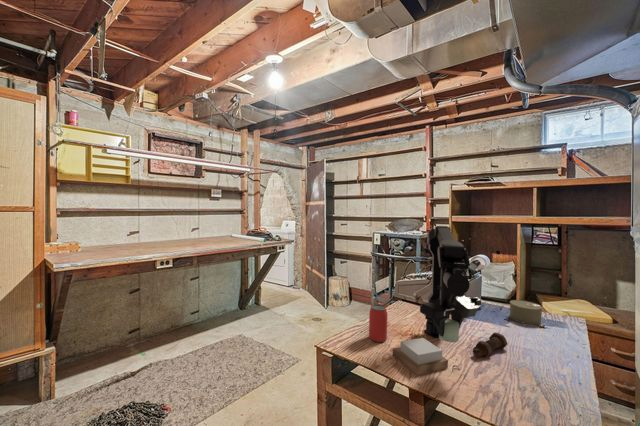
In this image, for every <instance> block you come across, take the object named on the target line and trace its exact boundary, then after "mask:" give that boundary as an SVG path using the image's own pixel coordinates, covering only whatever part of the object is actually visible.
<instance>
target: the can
mask: <svg viewBox="0 0 640 426" xmlns="http://www.w3.org/2000/svg"><path fill="white" fill-rule="evenodd" d="M542 312H543V306H542V305H541V304H538V303H536V302H532V301H529V300H523V299H522V300H521V299H512V300H510V301H509V318H510V319H511V320H514V321H516V322H519V323H523V324H528V325H534V324H536V325H541V324H540V323H542Z"/></svg>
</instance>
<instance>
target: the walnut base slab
mask: <svg viewBox="0 0 640 426" xmlns="http://www.w3.org/2000/svg"><path fill="white" fill-rule="evenodd" d="M392 357H394V358H395V359H396V360H398V361H399V362H400V363H401V364H402V365H403V366H405V367H406V368H407V369H408V370H409V371H411V372H412V373H413V374H414V375H415V376H420V375H424V374H429V373H432V372H436V371H440V370H441V371H442V370H445V369H448V368H449V359H447V358H445V357H443V356H442V360H439V361H434V362H429V363H424V364H419V365H418V364H417V363H415V362H414V361H413V360H412V359H410V358H409V357H408V356H407V355H405V354H404V353H403V352H402V351H400V346H399V347H394V348H392Z"/></svg>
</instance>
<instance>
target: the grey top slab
mask: <svg viewBox="0 0 640 426" xmlns="http://www.w3.org/2000/svg"><path fill="white" fill-rule="evenodd" d="M399 343H400V346H399V347H400V351H402V352H403V353H404V354H405V355H407V356H408V357H409V358H410V359H412V360H413V361H414V362H415V363H417V364H418V365H419V364H424V363H429V362H434V361H439V360H442V357H443V349H440V348H439V347H438V346H436V345H435V344H434V343H431V342H430V341H428V340H427V339H426V338H424V337H420V338H414V339H408V340H401V341H400V342H399Z"/></svg>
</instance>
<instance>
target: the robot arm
mask: <svg viewBox="0 0 640 426" xmlns="http://www.w3.org/2000/svg"><path fill="white" fill-rule="evenodd" d="M426 244H427V245H428V250H429V251H430V253H431V255H432V266H431V269H432V271H431V293H430V294H429V296H428V297H427V298H426V302H423V303H421V304H420V305H419V313H421V314H423V315H424V318H425V320H426V321H425V322H426V323H425V329H423V332H424V333H426V334H428V335H429V336H430V337H432V338H434V339H438V338H440V337H439V335H440V336H442V337H443V335H444V328H445V321H446V320H447V319H452V320H455V321H457V322H459V329H460V328H461V326H462V324H463V321H464V320H465V319H467V318H468V319H469V318H471V317H474V318H475V316H476V315H477V312H479V311H481V310H482V308H481V307H482V300H481V299H480V298H479V297H478V296H476V297H472V298H471V297H467V296H466V293H467V292H468V291H469V290H470V281H469V279H468V277H466V276H465V275H464V270H467V271H468V270H469V269H470V266H471V263H470V257H469V254H468V251H467V248H466V247H465V246H464V244H462V242H460V241H456V240H455V238H454V236H453V233H452V231H451V227H450V226H447V225H437V226H435V227H434V229H432V230H430V231H428V233H427V237H426ZM450 317H451V318H450Z"/></svg>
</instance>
